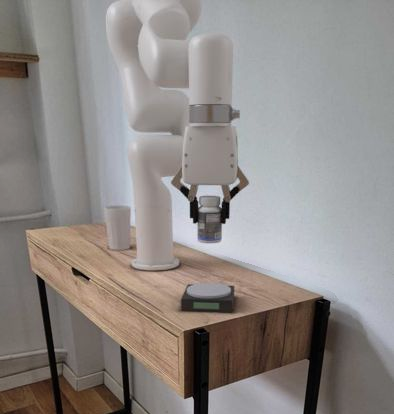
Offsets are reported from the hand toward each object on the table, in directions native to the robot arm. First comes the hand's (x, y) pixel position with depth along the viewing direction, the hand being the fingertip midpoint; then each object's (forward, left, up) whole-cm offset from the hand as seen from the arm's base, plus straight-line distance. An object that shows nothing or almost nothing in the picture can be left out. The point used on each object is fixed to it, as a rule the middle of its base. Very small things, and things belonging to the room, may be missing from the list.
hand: (209, 221), depth 93 cm
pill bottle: (0, 0, -4) cm, 4 cm away
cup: (-50, -32, -17) cm, 62 cm away
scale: (0, 0, -16) cm, 16 cm away
